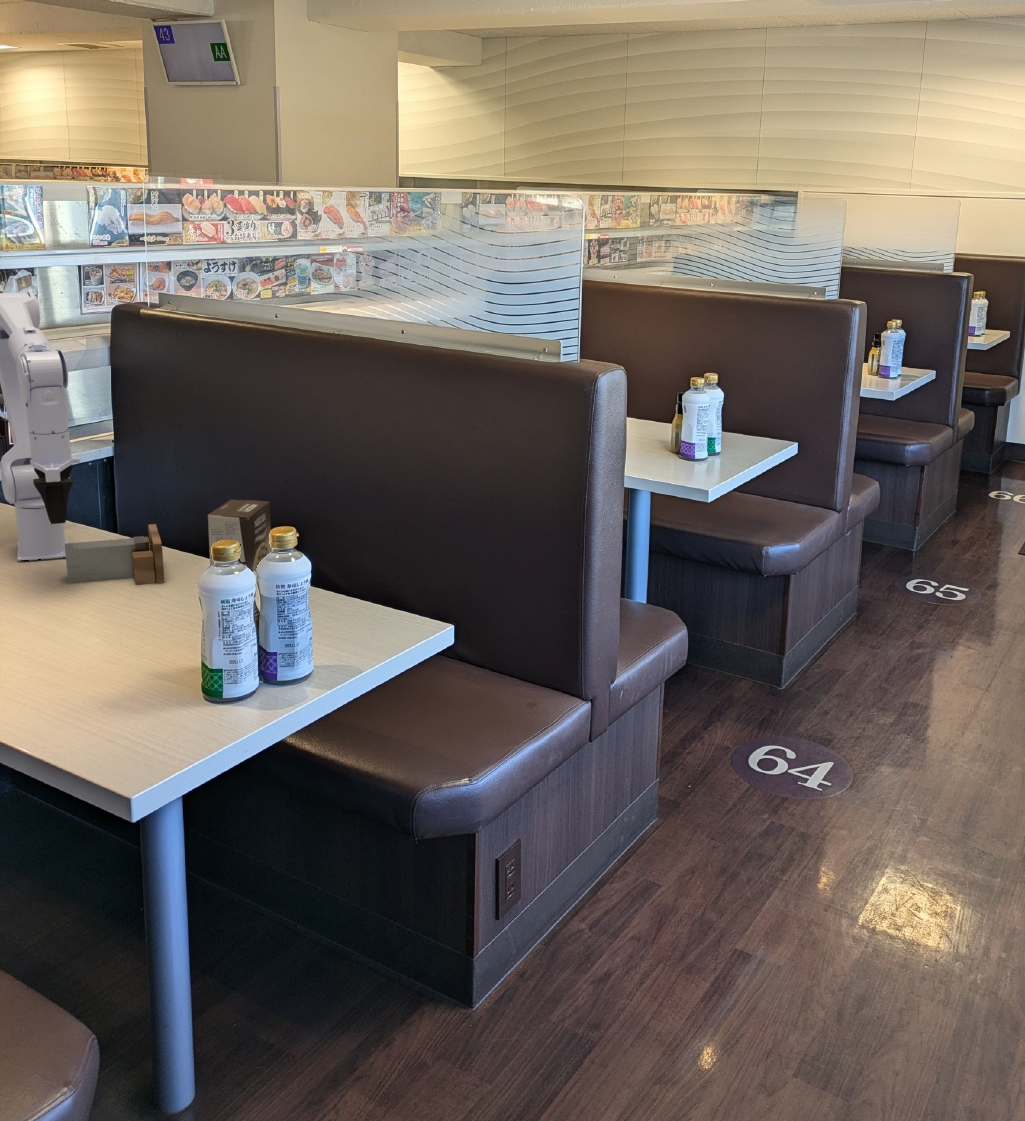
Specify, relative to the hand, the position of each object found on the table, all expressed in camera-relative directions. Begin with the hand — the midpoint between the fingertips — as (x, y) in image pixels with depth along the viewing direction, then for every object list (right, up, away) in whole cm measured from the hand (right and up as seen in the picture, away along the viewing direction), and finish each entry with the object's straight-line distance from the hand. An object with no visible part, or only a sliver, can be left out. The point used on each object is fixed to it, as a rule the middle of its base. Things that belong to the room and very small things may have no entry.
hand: (58, 516), depth 175 cm
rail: (+6, -9, +5) cm, 12 cm away
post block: (+11, -9, +7) cm, 16 cm away
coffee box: (+31, -15, -7) cm, 35 cm away
